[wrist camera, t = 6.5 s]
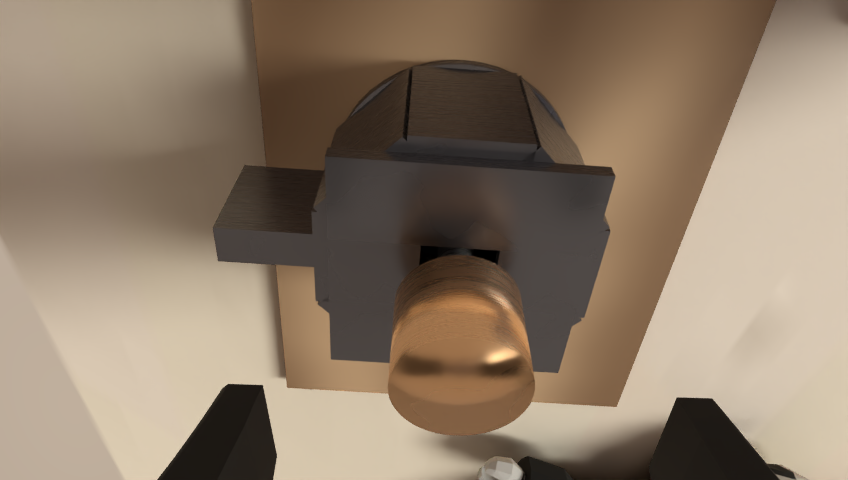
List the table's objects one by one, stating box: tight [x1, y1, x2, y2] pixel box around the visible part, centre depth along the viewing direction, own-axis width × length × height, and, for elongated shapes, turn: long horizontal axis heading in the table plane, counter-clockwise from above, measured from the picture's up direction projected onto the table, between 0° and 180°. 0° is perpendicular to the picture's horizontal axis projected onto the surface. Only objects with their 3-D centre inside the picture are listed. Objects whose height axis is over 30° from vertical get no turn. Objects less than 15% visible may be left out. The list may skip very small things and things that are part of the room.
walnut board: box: [251, 0, 776, 407], centre depth 19 cm, size 13×18×1 cm
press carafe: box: [213, 60, 616, 373], centre depth 16 cm, size 9×7×5 cm
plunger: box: [388, 246, 535, 436], centre depth 15 cm, size 5×5×7 cm
